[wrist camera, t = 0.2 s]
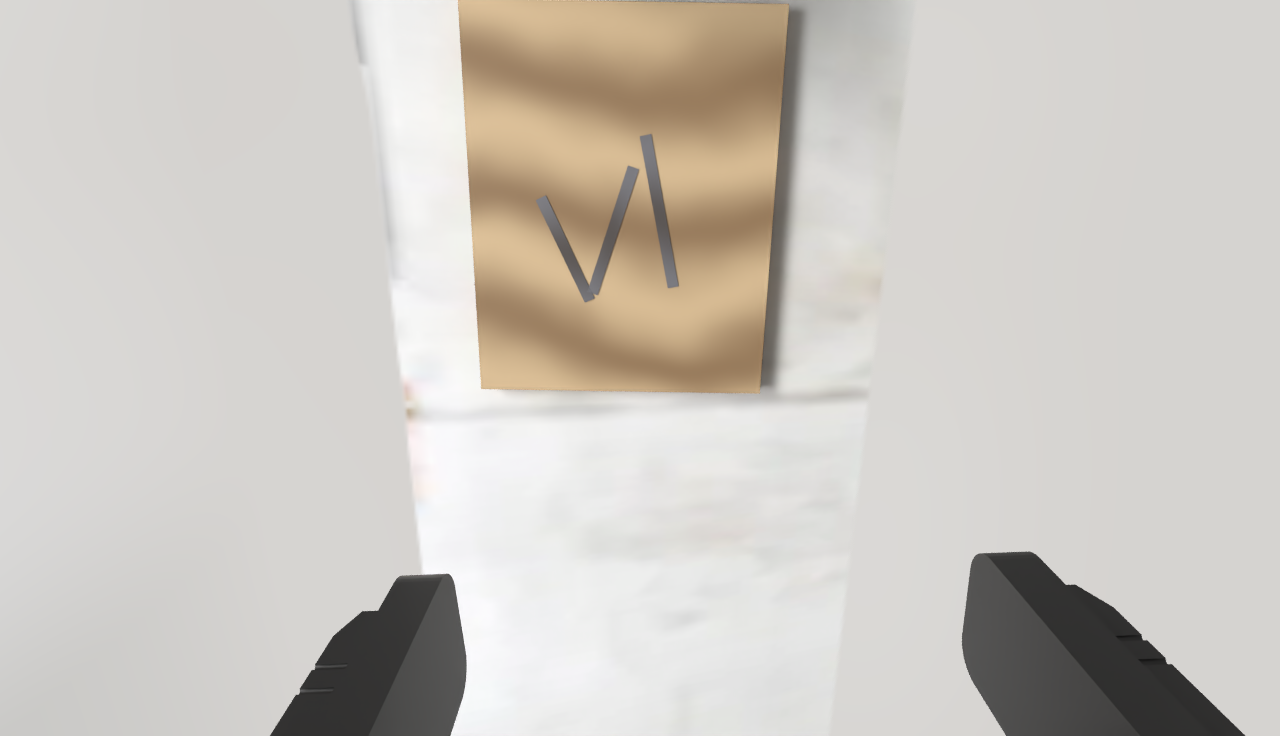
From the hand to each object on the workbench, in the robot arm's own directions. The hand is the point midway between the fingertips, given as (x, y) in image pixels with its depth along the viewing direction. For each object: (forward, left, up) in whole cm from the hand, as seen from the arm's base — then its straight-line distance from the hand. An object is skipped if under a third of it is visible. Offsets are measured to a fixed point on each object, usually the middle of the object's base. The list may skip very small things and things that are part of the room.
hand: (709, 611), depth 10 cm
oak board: (-4, -2, -28) cm, 29 cm away
